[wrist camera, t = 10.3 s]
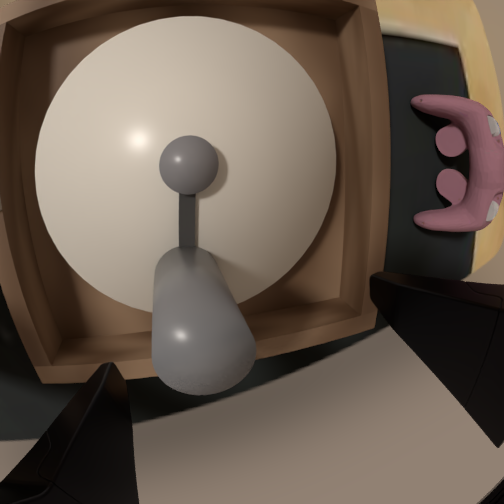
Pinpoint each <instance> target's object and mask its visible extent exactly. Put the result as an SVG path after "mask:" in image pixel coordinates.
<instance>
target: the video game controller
mask: <svg viewBox="0 0 504 504" xmlns="http://www.w3.org/2000/svg"><path fill="white" fill-rule="evenodd" d="M411 105H412V107H414V108H416V109H417V110H419V111H422V112H424V113H427V114H431V115H434V116H438V117H442V118H446V119H449V120H451V122H450V124H449V125H448V126H446V127H444V128H442V129H440V130H439V131H438V132H437V134H436V144H437V147H438V149H439V151H440V152H441V153H442V154H444V155H445V156H449V157H455V156H458V155H460V154H462V153H463V152H464V151H466V150H467V149H469V160H470V169H469V181H468V180H467V179H466V178H465V177H464V176H463V175H462V174H461V173H460V172H458V171H457V170H454V169H445V170H443V171H441V172H440V173H439V175H438V177H437V181H436V186H437V189H438V191H439V193H440V194H441V195H442V196H444V197H445V198H446V199H448V200H449V201H450V202H451V203H452V205H451V206H450V207H447V208H444V209H437V210H429V211H424V212H420V213H418V214H415V216H414V222H415V223H416V224H417V225H418V226H420V227H422V228H426V229H429V230H436V231H449V232H468V231H478V230H482V229H483V228H485V227H486V226H488V225H489V224H490V223H491V221H492V220H493V218H494V217H495V216H496V214H497V212H498V209H499V205H500V203H501V199H502V196H503V192H504V145H503V141H502V138H501V133H500V128H499V125H498V123H497V122H496V120H495V119H494V117H493V116H492V114H491V113H490V111H489V110H488V109H487V108H486V107H484V106H483V105H482V104H480V103H479V102H476V101H473V100H470V99H467V98H463V97H458V96H451V95H420V96H416V97H414V98H413V99H412V100H411Z"/></svg>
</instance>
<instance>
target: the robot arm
mask: <svg viewBox="0 0 504 504" xmlns="http://www.w3.org/2000/svg"><path fill="white" fill-rule="evenodd" d="M369 289H370V299H371V301H372V302H373V304H374V305H375V306H376V308H377V309H378V310H379V312H380V313H381V314H382V315H383V317H384V318H385V319H386V321H387V322H388V323H389V325H390V326H391V327H392V328H393V330H394V331H395V332H396V333H397V334H398V335H399V336H400V337H401V338H402V339H403V341H405V343H406V344H407V345H408V346H409V347H410V348H411V349H412V350H413V351H414V352H415V353H416V355H417V356H418V357H419V358H420V359H421V360H422V361H423V362H424V363H425V364H426V365H427V366H428V368H429V369H430V370H431V371H432V372H433V373H434V374H435V375H436V377H437V378H438V379H439V380H440V381H441V382H442V383H443V384H444V385H445V387H446V388H447V389H448V390H449V391H450V392H451V394H452V395H453V396H454V397H455V398H456V399H457V400H458V401H459V403H460V404H461V405H462V406H463V407H464V408H465V410H466V411H467V412H468V413H469V415H470V416H471V417H472V418H473V419H474V421H475V422H476V423H477V424H478V425H479V426H480V428H481V429H482V430H483V431H484V433H485V434H486V435H487V436H488V437H489V439H490V440H491V441H492V442H493V444H494V445H495V446H496V447H497V448H499V447H500V446H501V445H502V444H503V442H504V285H501V284H485V283H476V282H464V281H458V280H450V279H441V278H433V277H424V276H416V275H407V274H399V273H391V272H382V271H379V272H376V273H374V274H372V275H371V276H370V278H369ZM0 504H139V498H138V490H137V482H136V472H135V460H134V447H133V429H132V419H131V413H130V406H129V399H128V391H127V384H126V381H125V379H124V378H123V376H122V374H121V373H120V371H119V369H118V368H117V366H116V365H115V363H114V362H107V363H103V364H101V365H100V366H99V367H98V369H97V370H96V371H95V372H94V373H93V374H92V376H91V377H90V378H89V379H88V380H87V382H86V383H85V384H84V385H83V386H82V388H81V389H80V390H79V391H78V392H77V394H76V395H75V396H74V397H73V398H72V400H71V401H70V402H69V403H68V404H67V406H66V407H65V408H64V409H63V410H62V412H61V413H60V414H59V415H58V417H57V418H56V419H55V420H54V422H53V423H52V424H51V425H50V427H49V428H48V429H47V431H45V433H44V434H43V435H42V437H41V438H40V439H39V440H38V441H37V443H36V444H35V445H34V447H33V448H32V449H31V450H30V451H29V452H28V453H27V454H26V456H25V457H24V458H23V459H22V460H21V461H20V462H19V463H18V464H17V465H16V467H15V468H14V469H13V470H12V471H11V472H10V473H9V474H8V475H7V476H6V477H5V478H4V480H2V481H1V482H0ZM477 504H504V477H503V478H502V479H501V480H500V481H499V483H497V484H496V485H495V487H494V488H493V489H492V490H491V491H490V492H489V493H487V495H485V496H484V497H483V498H482V499H481V500H480V501H479V502H478V503H477Z"/></svg>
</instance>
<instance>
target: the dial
mask: <svg viewBox="0 0 504 504" xmlns="http://www.w3.org/2000/svg"><path fill="white" fill-rule="evenodd" d="M335 175H336V148H335V138H334V133H333V128H332V124H331V120H330V117H329V114H328V111H327V108H326V106H325V103H324V101H323V99H322V97H321V95H320V93H319V91H318V89H317V87H316V86H315V84H314V82H313V81H312V80H311V78H310V77H309V75H308V74H307V73H306V71H305V70H304V68H303V67H302V66H301V65H300V64H299V63H298V62H297V61H296V60H295V59H294V58H293V57H292V56H291V55H290V54H289V53H288V52H287V51H285V50H284V49H283V48H282V47H280V46H279V45H278V44H277V43H275V42H274V41H272V40H271V39H269V38H267V37H266V36H264V35H262V34H261V33H259V32H257V31H254V30H252V29H250V28H247V27H245V26H243V25H240V24H237V23H233V22H230V21H226V20H222V19H217V18H210V17H202V16H180V17H172V18H165V19H159V20H155V21H151V22H148V23H144V24H141V25H138V26H135V27H133V28H131V29H128V30H126V31H124V32H122V33H120V34H118V35H116V36H114V37H113V38H111V39H109V40H108V41H106V42H105V43H103V44H101V45H100V46H99V47H97V48H96V49H95V50H94V51H93V52H91V53H90V54H89V55H88V56H86V57H85V58H84V59H83V60H82V61H81V62H80V63H79V64H78V65H77V67H76V68H75V69H74V70H73V71H72V72H71V73H70V74H69V76H68V77H67V78H66V80H65V81H64V82H63V84H62V85H61V87H60V88H59V90H58V91H57V93H56V95H55V97H54V99H53V100H52V102H51V104H50V106H49V108H48V110H47V113H46V116H45V118H44V121H43V124H42V127H41V130H40V134H39V139H38V144H37V149H36V159H35V182H36V193H37V198H38V202H39V207H40V211H41V214H42V217H43V220H44V223H45V225H46V228H47V230H48V233H49V234H50V236H51V238H52V240H53V242H54V244H55V245H56V247H57V249H58V250H59V252H60V253H61V255H62V256H63V257H64V259H65V260H66V261H67V263H68V264H69V265H70V266H71V267H72V268H73V269H74V270H75V271H76V272H77V273H78V274H79V275H80V276H81V277H82V278H83V279H84V280H85V281H86V282H88V283H89V284H90V285H92V286H93V287H94V288H95V289H97V290H98V291H100V292H101V293H103V294H105V295H107V296H108V297H110V298H112V299H114V300H116V301H118V302H120V303H123V304H125V305H128V306H130V307H133V308H136V309H140V310H144V311H148V312H152V364H153V367H154V370H155V372H156V374H157V375H158V377H159V378H160V379H161V380H162V381H163V382H164V383H165V384H166V385H168V386H169V387H171V388H173V389H175V390H177V391H179V392H182V393H186V394H191V395H209V394H215V393H219V392H222V391H225V390H227V389H229V388H231V387H233V386H234V385H236V384H237V383H239V382H240V381H241V380H242V379H243V378H244V377H245V376H246V375H247V374H248V373H249V371H250V370H251V368H252V366H253V364H254V361H255V358H256V342H255V340H254V337H253V335H252V333H251V331H250V329H249V327H248V325H247V323H246V321H245V319H244V317H243V315H242V313H241V311H240V309H239V307H238V305H237V304H238V303H241V302H243V301H245V300H247V299H249V298H251V297H253V296H255V295H257V294H259V293H261V292H262V291H264V290H265V289H266V288H268V287H269V286H271V285H272V284H274V283H275V282H276V281H278V280H279V279H280V278H281V277H282V276H283V275H285V274H286V273H287V272H288V271H289V270H290V269H291V268H292V267H293V266H294V265H295V264H296V262H297V261H298V260H299V259H300V258H301V257H302V256H303V254H304V253H305V251H306V250H307V249H308V247H309V246H310V245H311V243H312V242H313V240H314V238H315V236H316V234H317V233H318V231H319V229H320V227H321V225H322V223H323V220H324V218H325V215H326V213H327V211H328V208H329V204H330V200H331V197H332V193H333V188H334V182H335Z"/></svg>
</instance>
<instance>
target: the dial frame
mask: <svg viewBox="0 0 504 504" xmlns="http://www.w3.org/2000/svg"><path fill="white" fill-rule="evenodd" d="M180 16H202V17H210V18H217V19H222V20H226V21H230V22H233V23H237V24H240V25H243V26H245V27H247V28H250V29H252V30H254V31H257V32H259V33H261V34H262V35H264V36H266V37H267V38H269V39H271V40H272V41H274V42H275V43H277V44H278V45H279V46H280V47H282V48H283V49H284V50H285V51H287V52H288V53H289V54H290V55H291V56H292V57H293V58H294V59H295V60H296V61H297V62H298V63H299V64H300V65H301V66H302V67H303V68H304V70H305V71H306V73H307V74H308V75H309V77H310V78H311V80H312V81H313V82H314V84H315V86H316V87H317V89H318V91H319V93H320V95H321V97H322V99H323V101H324V103H325V106H326V108H327V111H328V114H329V117H330V120H331V124H332V128H333V133H334V138H335V148H336V175H335V182H334V188H333V193H332V197H331V200H330V204H329V208H328V211H327V213H326V215H325V218H324V220H323V223H322V225H321V227H320V229H319V231H318V233H317V234H316V236H315V238H314V240H313V242H312V243H311V245H310V246H309V247H308V249H307V250H306V251H305V253H304V254H303V256H302V257H301V258H300V259H299V260H298V261H297V262H296V264H295V265H294V266H293V267H292V268H291V269H290V270H289V271H288V272H287V273H286V274H285V275H283V276H282V277H281V278H280V279H279V280H278V281H276V282H275V283H274V284H272V285H271V286H269V287H268V288H266V289H265V290H264V291H262V292H261V293H259V294H257V295H255V296H253V297H251V298H249V299H247V300H245V301H243V302H241V303H238V304H237V305H238V307H239V309H240V311H241V313H242V315H243V317H244V319H245V321H246V323H247V325H248V327H249V329H250V331H251V333H252V335H253V337H254V340H255V342H256V358H255V360H257V359H261V358H266V357H270V356H275V355H279V354H283V353H287V352H291V351H296V350H299V349H303V348H307V347H311V346H315V345H319V344H322V343H326V342H329V341H333V340H336V339H340V338H343V337H347V336H350V335H353V334H357V333H360V332H363V331H366V330H369V329H372V328H374V327H375V322H376V316H377V310H378V309H377V308H376V306H375V305H374V304H373V302H372V301H371V299H370V289H369V278H370V276H371V275H372V274H374V273H376V272H379V271H382V272H383V269H384V260H385V251H386V241H387V229H388V216H389V198H390V116H389V98H388V85H387V74H386V65H385V56H384V49H383V42H382V35H381V29H380V23H379V17H378V12H377V6H376V2H375V0H16V1H14V2H12V3H9V4H7V5H5V6H3V7H1V8H0V284H1V287H2V291H3V294H4V297H5V299H6V302H7V305H8V308H9V311H10V313H11V316H12V319H13V321H14V324H15V326H16V329H17V331H18V333H19V336H20V338H21V340H22V343H23V345H24V347H25V349H26V352H27V354H28V356H29V358H30V360H31V362H32V364H33V366H34V368H35V370H36V372H37V374H38V376H39V378H40V380H41V381H42V383H83V382H87V380H88V379H89V378H90V377H91V376H92V374H93V373H94V372H95V371H96V370H97V369H98V367H99V366H100V365H101V364H103V363H107V362H114V363H115V365H116V366H117V368H118V369H119V371H120V373H121V374H122V376H123V378H124V379H125V380H126V379H136V378H146V377H154V376H158V375H157V374H156V372H155V370H154V367H153V364H152V312H148V311H144V310H140V309H136V308H133V307H130V306H128V305H125V304H123V303H120V302H118V301H116V300H114V299H112V298H110V297H108V296H107V295H105V294H103V293H101V292H100V291H98V290H97V289H95V288H94V287H93V286H92V285H90V284H89V283H88V282H86V281H85V280H84V279H83V278H82V277H81V276H80V275H79V274H78V273H77V272H76V271H75V270H74V269H73V268H72V267H71V266H70V265H69V264H68V263H67V261H66V260H65V259H64V257H63V256H62V255H61V253H60V252H59V250H58V249H57V247H56V245H55V244H54V242H53V240H52V238H51V236H50V234H49V233H48V230H47V228H46V225H45V223H44V220H43V217H42V214H41V211H40V207H39V202H38V198H37V193H36V182H35V159H36V149H37V144H38V139H39V134H40V130H41V127H42V124H43V121H44V118H45V116H46V113H47V110H48V108H49V106H50V104H51V102H52V100H53V99H54V97H55V95H56V93H57V91H58V90H59V88H60V87H61V85H62V84H63V82H64V81H65V80H66V78H67V77H68V76H69V74H70V73H71V72H72V71H73V70H74V69H75V68H76V67H77V65H78V64H79V63H80V62H81V61H82V60H83V59H84V58H85V57H86V56H88V55H89V54H90V53H91V52H93V51H94V50H95V49H96V48H97V47H99V46H100V45H101V44H103V43H105V42H106V41H108V40H109V39H111V38H113V37H114V36H116V35H118V34H120V33H122V32H124V31H126V30H128V29H131V28H133V27H135V26H138V25H141V24H144V23H148V22H151V21H155V20H159V19H165V18H172V17H180Z"/></svg>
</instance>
